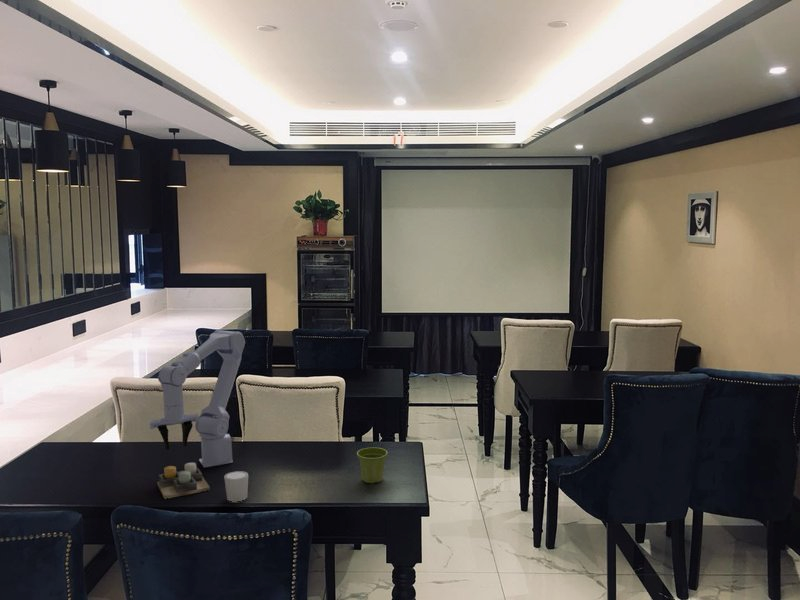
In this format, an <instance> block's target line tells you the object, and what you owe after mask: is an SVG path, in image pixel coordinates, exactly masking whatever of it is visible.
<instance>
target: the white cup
mask: <svg viewBox="0 0 800 600" xmlns="http://www.w3.org/2000/svg"><path fill="white" fill-rule="evenodd" d="M223 476H224V477H223V478H224V484H225V492H226V499H227V501H228V500H229V501H232V502H231V503H238V502H237V501H241V502H243V501H242V500H244V501H246V500H247V499H248V490H249V489H248V488H249V487H248V486H249V473H248V472H247V471H243V470H241V471H240V470H236V471H231V472H227V473H226V474H224V475H223ZM246 498H247V499H246ZM245 499H246V500H245ZM229 501H228V502H229Z"/></svg>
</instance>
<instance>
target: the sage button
mask: <svg viewBox="0 0 800 600" xmlns="http://www.w3.org/2000/svg"><path fill="white" fill-rule="evenodd" d="M182 471H183V470H182ZM188 483H191V472H189V471H183V472H180V471H179V484H180V485H182V484H188Z"/></svg>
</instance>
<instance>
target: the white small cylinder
mask: <svg viewBox="0 0 800 600" xmlns="http://www.w3.org/2000/svg"><path fill="white" fill-rule="evenodd" d="M196 468H197V462H187V463H185V464H184V470H185V471H189V472H191V475H193V474H197V471H196Z"/></svg>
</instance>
